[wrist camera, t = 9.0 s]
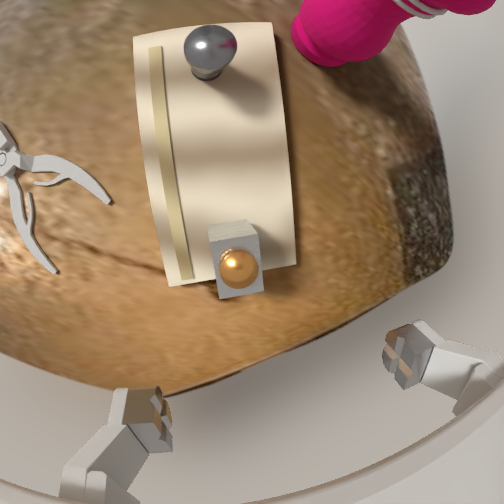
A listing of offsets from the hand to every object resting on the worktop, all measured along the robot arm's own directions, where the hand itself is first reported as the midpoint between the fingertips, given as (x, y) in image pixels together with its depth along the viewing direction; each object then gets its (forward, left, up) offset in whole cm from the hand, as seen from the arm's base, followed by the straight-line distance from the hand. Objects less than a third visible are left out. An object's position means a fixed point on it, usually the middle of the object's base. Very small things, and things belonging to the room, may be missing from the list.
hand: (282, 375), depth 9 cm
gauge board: (-7, 0, -17) cm, 18 cm away
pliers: (-8, -17, -17) cm, 26 cm away
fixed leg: (-14, 0, -15) cm, 20 cm away
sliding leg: (0, 0, -15) cm, 15 cm away
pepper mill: (-17, +11, -17) cm, 26 cm away
